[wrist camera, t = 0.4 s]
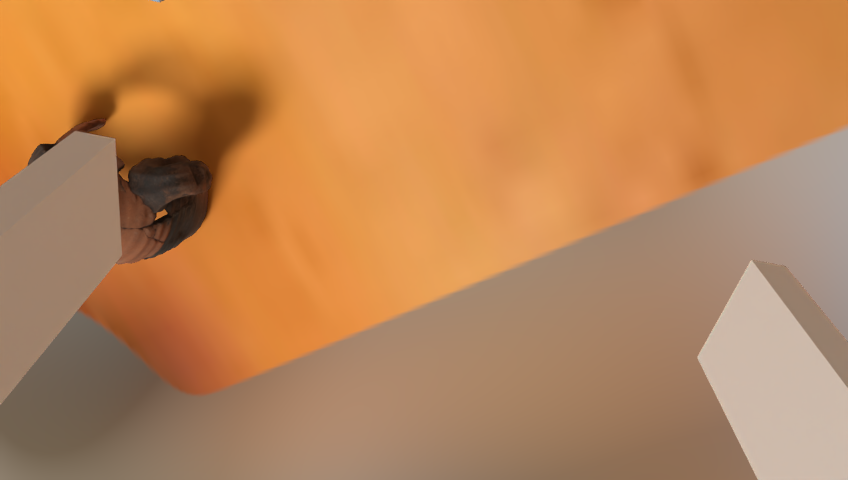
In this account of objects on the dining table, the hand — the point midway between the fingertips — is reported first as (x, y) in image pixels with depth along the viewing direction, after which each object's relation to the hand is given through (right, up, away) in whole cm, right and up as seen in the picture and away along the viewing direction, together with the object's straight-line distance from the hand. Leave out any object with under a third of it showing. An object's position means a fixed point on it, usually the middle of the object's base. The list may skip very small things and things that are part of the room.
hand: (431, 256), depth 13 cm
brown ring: (-19, +5, +30) cm, 36 cm away
